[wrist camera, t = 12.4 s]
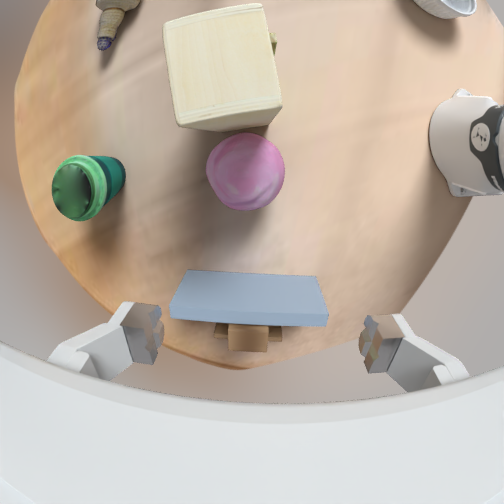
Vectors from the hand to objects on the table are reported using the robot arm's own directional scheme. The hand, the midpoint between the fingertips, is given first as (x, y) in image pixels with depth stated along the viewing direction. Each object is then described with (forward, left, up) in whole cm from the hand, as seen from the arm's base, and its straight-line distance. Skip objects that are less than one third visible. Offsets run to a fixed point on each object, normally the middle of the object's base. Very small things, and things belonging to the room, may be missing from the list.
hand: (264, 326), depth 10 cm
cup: (+22, -2, -29) cm, 37 cm away
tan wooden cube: (+1, +17, -25) cm, 30 cm away
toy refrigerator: (+3, -12, -29) cm, 32 cm away
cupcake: (+2, -3, -29) cm, 30 cm away
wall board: (+1, +17, -29) cm, 34 cm away
